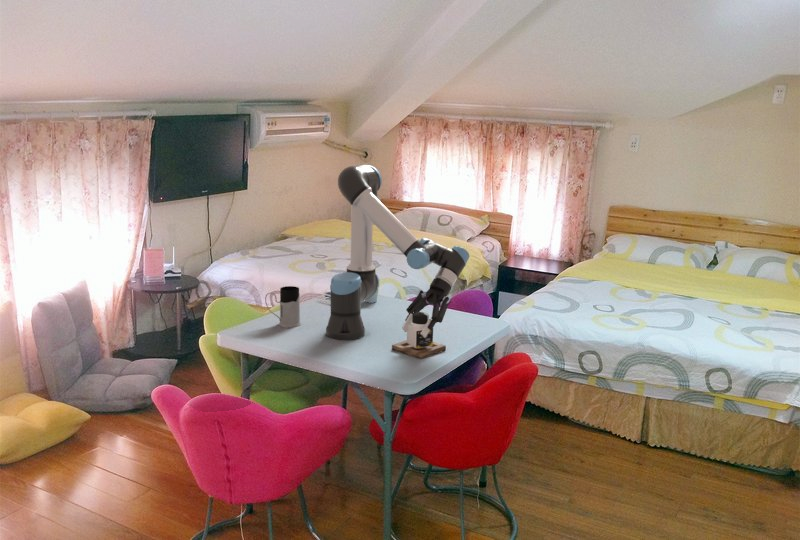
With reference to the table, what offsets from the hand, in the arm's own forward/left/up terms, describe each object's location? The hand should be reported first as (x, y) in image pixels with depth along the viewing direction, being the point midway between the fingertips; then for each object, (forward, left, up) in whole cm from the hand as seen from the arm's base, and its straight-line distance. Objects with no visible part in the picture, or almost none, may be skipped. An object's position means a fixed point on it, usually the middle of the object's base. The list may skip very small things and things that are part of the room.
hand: (413, 332), depth 254 cm
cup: (-60, +38, -7) cm, 72 cm away
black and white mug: (-58, -14, -7) cm, 60 cm away
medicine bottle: (0, +3, -5) cm, 6 cm away
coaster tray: (0, +3, -7) cm, 8 cm away
